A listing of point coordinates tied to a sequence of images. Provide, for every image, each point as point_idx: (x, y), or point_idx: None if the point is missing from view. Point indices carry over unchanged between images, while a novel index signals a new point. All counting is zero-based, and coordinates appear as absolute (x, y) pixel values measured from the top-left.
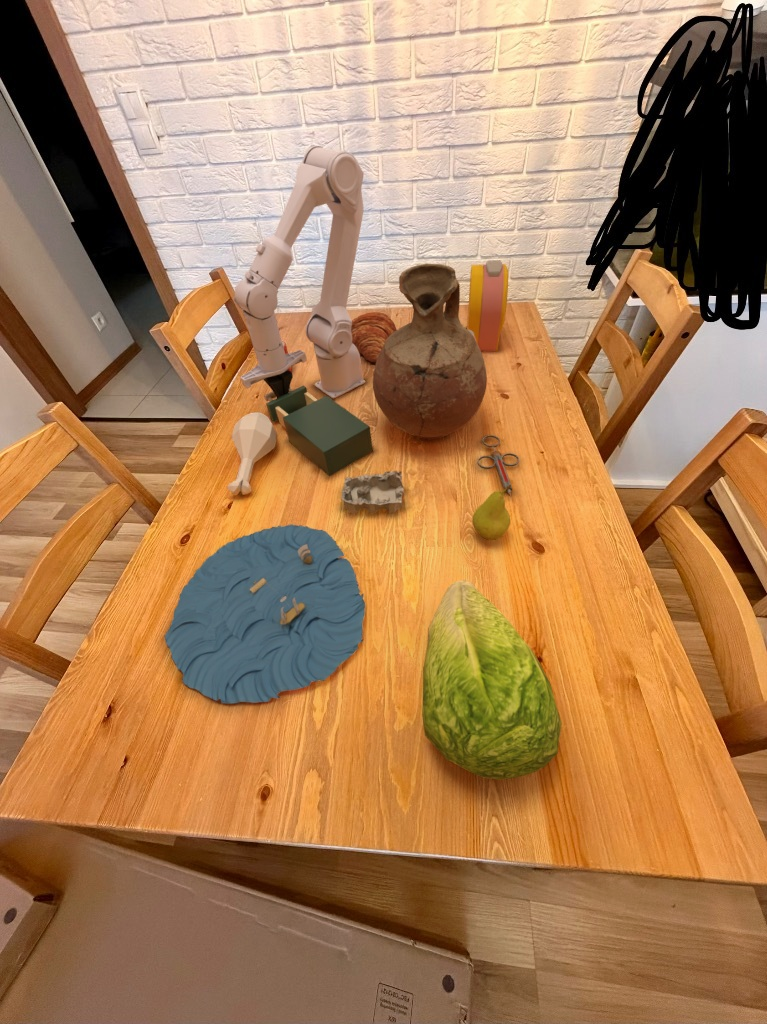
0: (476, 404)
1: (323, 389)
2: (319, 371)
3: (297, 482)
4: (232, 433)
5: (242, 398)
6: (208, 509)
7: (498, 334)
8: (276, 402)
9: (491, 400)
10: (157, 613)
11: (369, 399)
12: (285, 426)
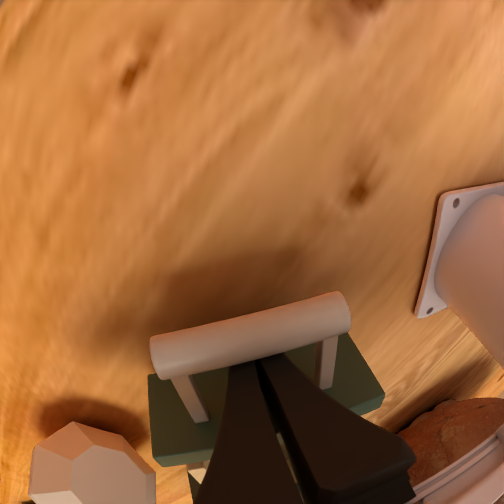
0: None
1: (436, 261)
2: (496, 304)
3: (164, 486)
4: (29, 495)
5: (38, 47)
6: (8, 468)
7: None
8: (205, 459)
9: (492, 381)
10: (3, 499)
11: (450, 342)
12: (191, 489)
